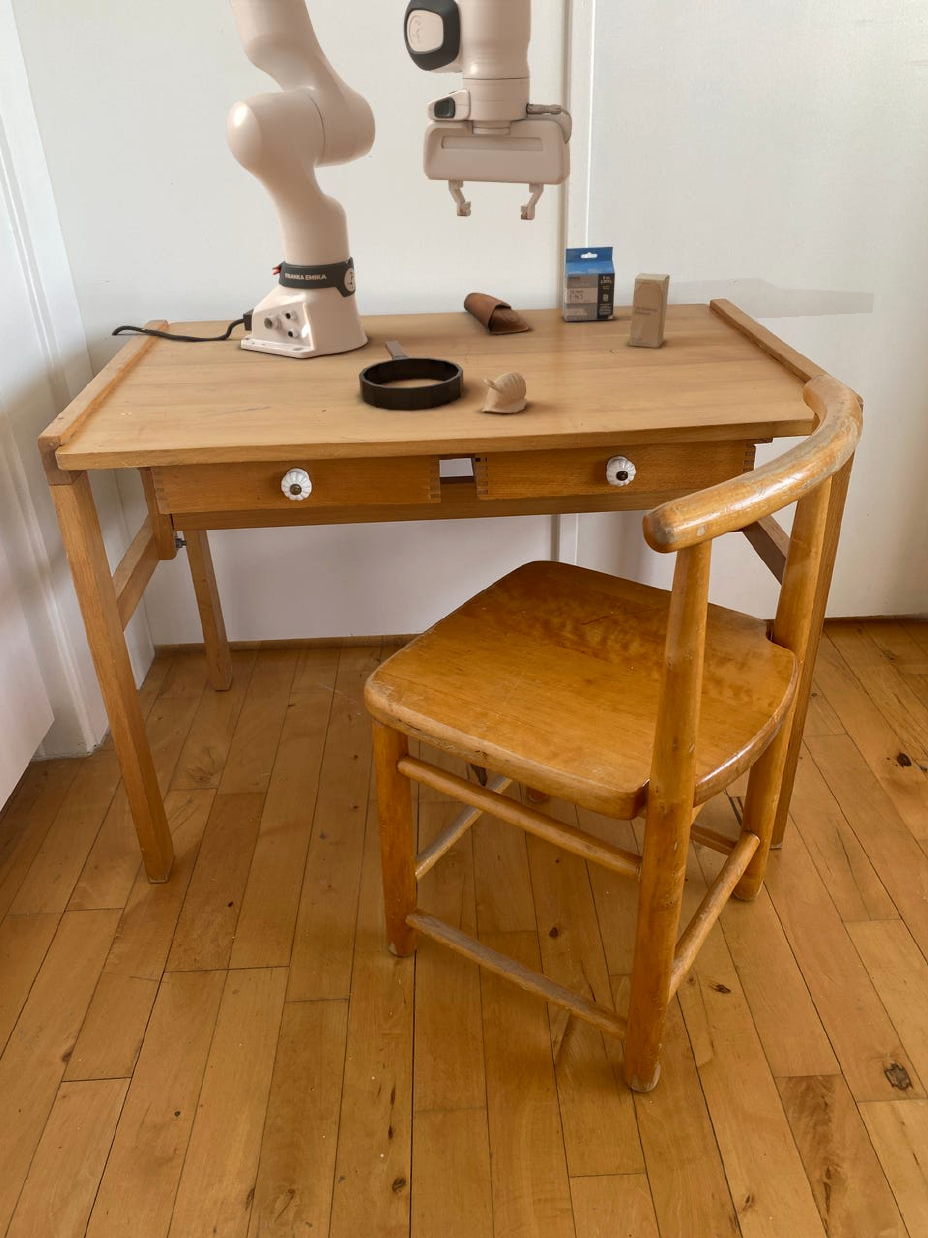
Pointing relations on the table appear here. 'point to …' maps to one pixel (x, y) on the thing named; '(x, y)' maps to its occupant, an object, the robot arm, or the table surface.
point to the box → (649, 310)
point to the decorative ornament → (506, 393)
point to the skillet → (410, 369)
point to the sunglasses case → (494, 314)
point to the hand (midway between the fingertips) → (495, 217)
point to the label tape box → (589, 284)
